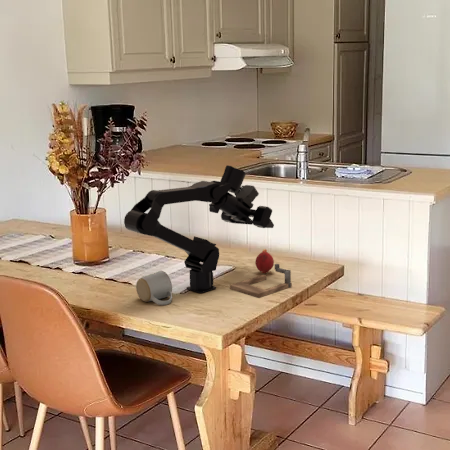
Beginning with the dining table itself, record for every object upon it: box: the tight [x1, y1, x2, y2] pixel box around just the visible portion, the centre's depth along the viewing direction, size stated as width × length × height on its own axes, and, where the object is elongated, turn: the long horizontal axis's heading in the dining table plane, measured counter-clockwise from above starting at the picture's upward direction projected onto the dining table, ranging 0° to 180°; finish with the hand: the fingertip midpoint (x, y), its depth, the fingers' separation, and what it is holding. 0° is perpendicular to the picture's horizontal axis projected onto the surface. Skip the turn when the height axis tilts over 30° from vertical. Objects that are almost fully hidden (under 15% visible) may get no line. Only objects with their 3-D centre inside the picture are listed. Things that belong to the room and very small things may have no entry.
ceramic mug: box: [135, 270, 173, 306], centre depth 200 cm, size 11×8×8 cm
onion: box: [255, 248, 275, 275], centre depth 222 cm, size 6×6×8 cm
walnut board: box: [229, 263, 293, 299], centre depth 209 cm, size 14×12×6 cm
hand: (262, 224), depth 222 cm, fingers open, 9 cm apart
